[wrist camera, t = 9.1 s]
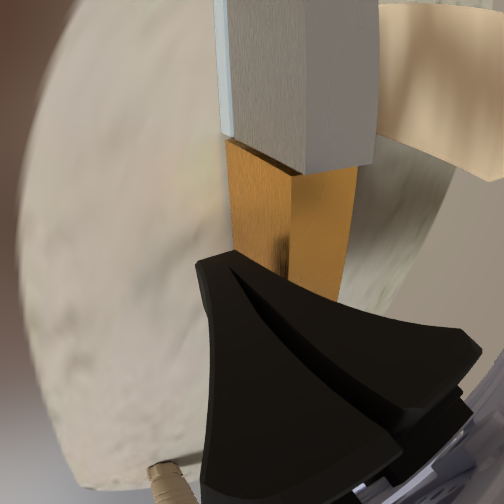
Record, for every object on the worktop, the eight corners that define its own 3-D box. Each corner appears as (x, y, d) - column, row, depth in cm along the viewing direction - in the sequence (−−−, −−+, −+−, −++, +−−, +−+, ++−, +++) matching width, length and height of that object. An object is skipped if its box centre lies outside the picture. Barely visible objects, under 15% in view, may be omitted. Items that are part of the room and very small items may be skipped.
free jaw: (278, 272, 14) (338, 340, 10) (237, 286, 13) (291, 363, 10) (274, -5, 7) (375, -33, 4) (216, -9, 6) (299, -59, 3)
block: (408, 125, 12) (518, 172, 7) (350, 125, 10) (488, 182, 6) (412, 28, 9) (532, 51, 4) (351, 6, 8) (502, 12, 3)
